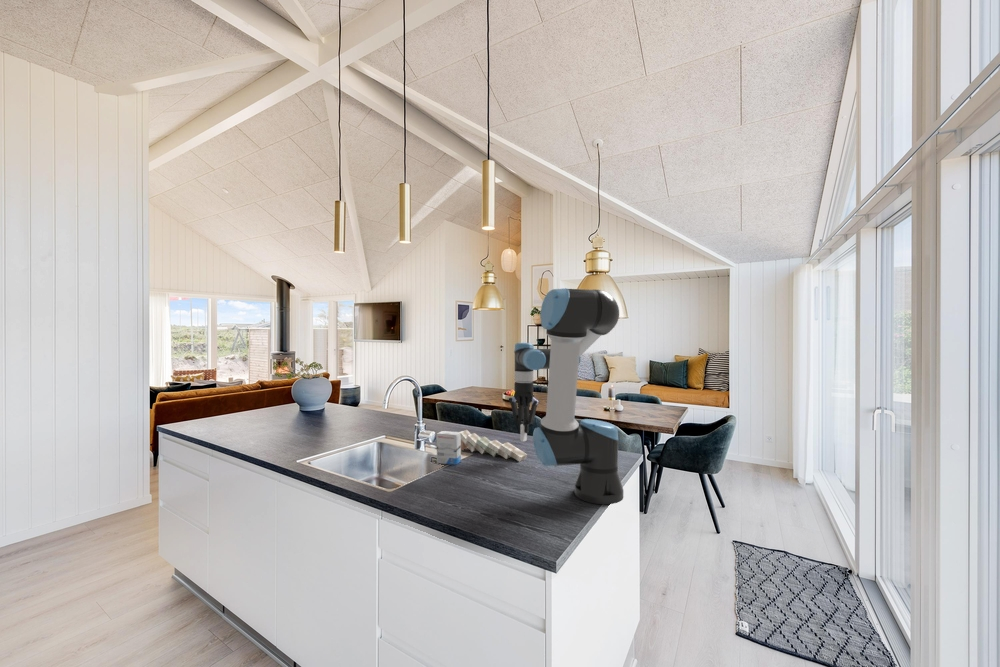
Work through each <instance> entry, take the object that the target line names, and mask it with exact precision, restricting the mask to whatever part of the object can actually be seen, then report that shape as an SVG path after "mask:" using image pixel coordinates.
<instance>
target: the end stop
mask: <svg viewBox="0 0 1000 667" xmlns="http://www.w3.org/2000/svg"><path fill="white" fill-rule="evenodd" d="M467 448H468V447H467V446H466V444H465V443H464V442H463V441H462V440H461V451H462V450H463V451H465V450H467ZM464 449H465V450H464ZM468 449H469V448H468Z"/></svg>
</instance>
